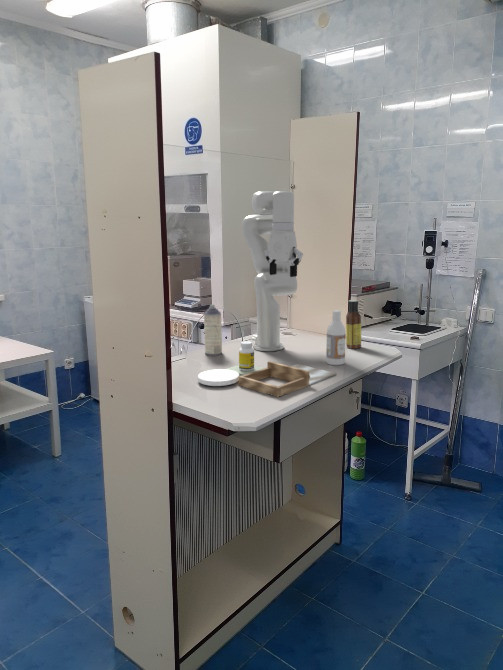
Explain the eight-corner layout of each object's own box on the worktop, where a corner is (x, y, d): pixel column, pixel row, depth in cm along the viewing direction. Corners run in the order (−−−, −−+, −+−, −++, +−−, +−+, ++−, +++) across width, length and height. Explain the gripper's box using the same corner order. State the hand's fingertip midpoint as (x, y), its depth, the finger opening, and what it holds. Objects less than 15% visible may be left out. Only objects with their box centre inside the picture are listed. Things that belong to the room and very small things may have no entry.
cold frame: (238, 385, 179) (238, 370, 178) (297, 365, 200) (297, 352, 199) (278, 397, 167) (278, 382, 166) (336, 374, 188) (336, 361, 187)
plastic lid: (228, 373, 192) (228, 366, 192) (246, 384, 180) (246, 377, 180) (192, 379, 186) (191, 372, 186) (207, 391, 174) (207, 384, 174)
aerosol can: (225, 352, 220) (223, 303, 215) (216, 356, 214) (215, 306, 209) (210, 350, 223) (209, 302, 218) (202, 354, 217) (200, 305, 212)
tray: (224, 373, 192) (224, 369, 192) (244, 367, 199) (244, 363, 199) (248, 380, 184) (248, 375, 184) (268, 373, 191) (268, 369, 191)
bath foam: (334, 366, 198) (336, 313, 193) (322, 362, 204) (323, 310, 199) (348, 363, 202) (350, 311, 197) (336, 359, 207) (337, 308, 203)
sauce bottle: (362, 346, 227) (363, 299, 222) (360, 349, 221) (361, 302, 216) (346, 345, 229) (347, 298, 224) (344, 348, 223) (345, 301, 218)
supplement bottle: (252, 371, 188) (252, 344, 186) (237, 371, 189) (237, 344, 187) (255, 367, 193) (255, 340, 191) (240, 366, 194) (240, 340, 192)
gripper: (258, 227, 194) (258, 274, 198) (295, 228, 182) (295, 278, 186) (271, 226, 199) (272, 272, 203) (309, 227, 187) (308, 276, 191)
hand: (283, 275), depth 195 cm, fingers open, 9 cm apart
